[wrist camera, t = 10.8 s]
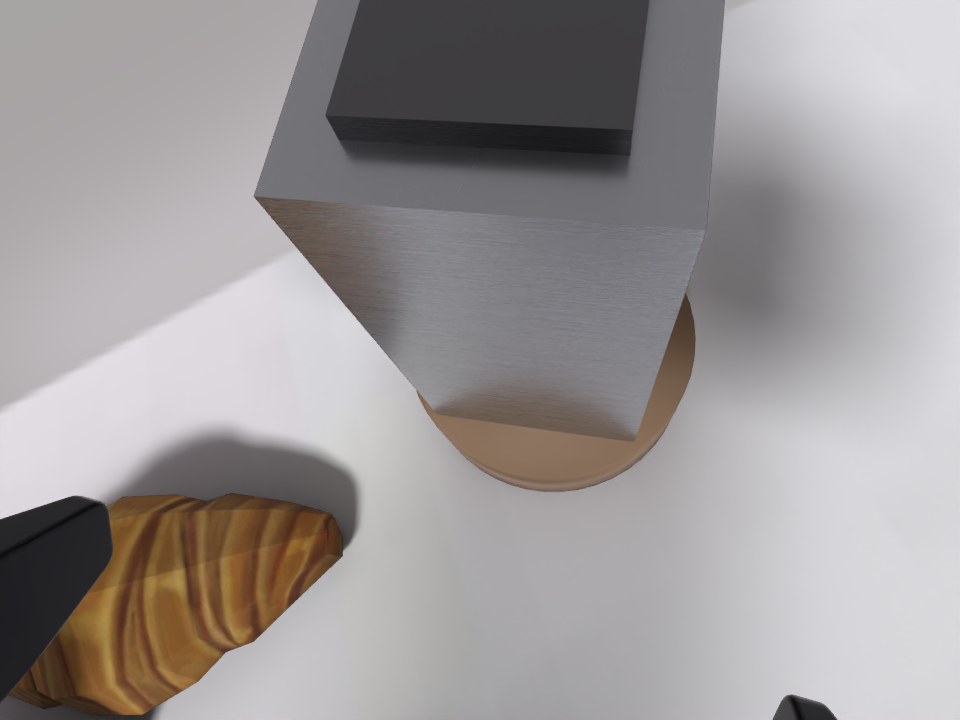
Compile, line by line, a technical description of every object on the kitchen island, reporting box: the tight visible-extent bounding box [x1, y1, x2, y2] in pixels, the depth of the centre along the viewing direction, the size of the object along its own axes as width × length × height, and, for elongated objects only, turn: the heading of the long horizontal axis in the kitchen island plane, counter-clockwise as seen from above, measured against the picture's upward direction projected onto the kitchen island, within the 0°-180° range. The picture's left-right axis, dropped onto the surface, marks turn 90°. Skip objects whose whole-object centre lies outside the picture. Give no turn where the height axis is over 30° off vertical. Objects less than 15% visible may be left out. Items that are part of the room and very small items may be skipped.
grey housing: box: [254, 0, 725, 442], centre depth 15 cm, size 6×6×12 cm
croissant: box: [8, 493, 343, 715], centre depth 20 cm, size 14×7×5 cm, turn 107°
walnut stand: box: [417, 293, 695, 492], centre depth 22 cm, size 9×9×3 cm
